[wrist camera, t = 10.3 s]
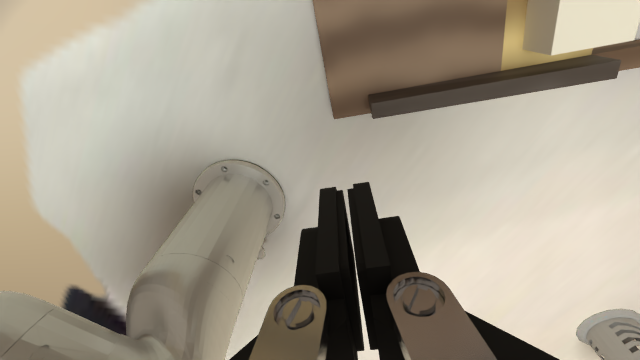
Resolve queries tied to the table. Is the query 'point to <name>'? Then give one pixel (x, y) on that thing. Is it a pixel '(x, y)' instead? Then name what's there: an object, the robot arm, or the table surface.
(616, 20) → the cream block
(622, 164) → the table surface
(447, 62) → the tunnel deck
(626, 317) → the french press
